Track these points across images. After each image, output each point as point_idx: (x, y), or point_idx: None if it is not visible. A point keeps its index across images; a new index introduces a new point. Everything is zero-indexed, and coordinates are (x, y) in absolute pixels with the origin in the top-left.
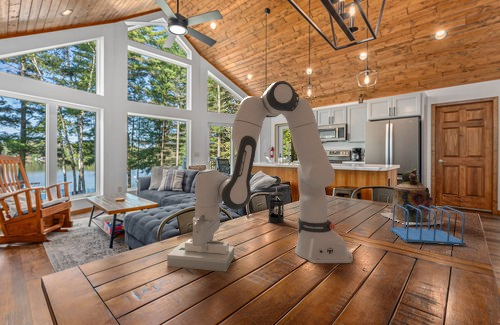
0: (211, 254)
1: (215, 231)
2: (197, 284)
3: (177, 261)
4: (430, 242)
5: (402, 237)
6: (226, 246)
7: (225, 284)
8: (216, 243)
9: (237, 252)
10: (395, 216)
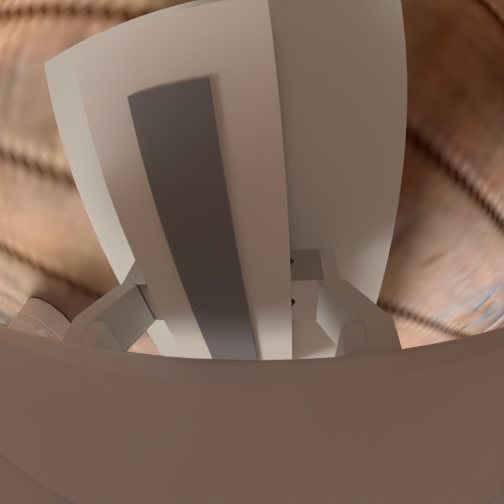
0: (309, 183)
1: (37, 344)
2: (501, 164)
3: None
4: None
5: None
6: (237, 3)
7: (488, 19)
8: (226, 201)
9: (41, 79)
10: None
